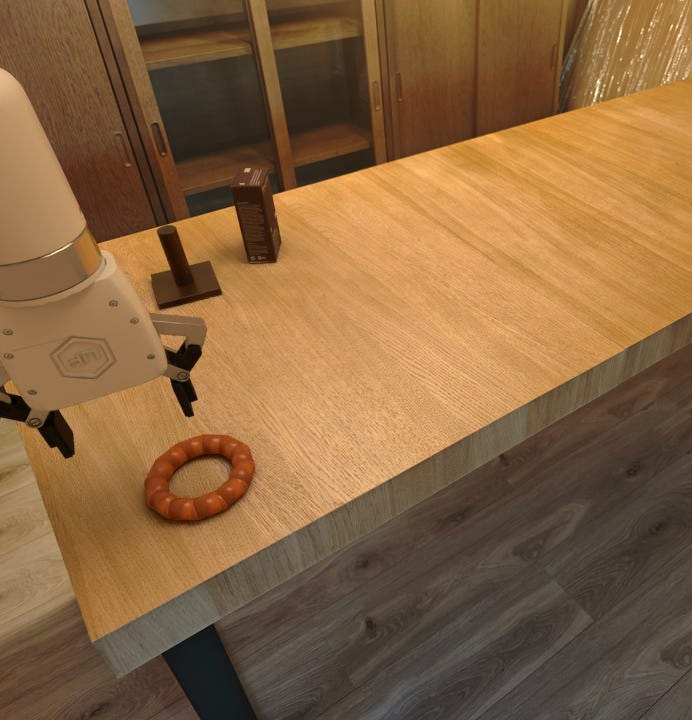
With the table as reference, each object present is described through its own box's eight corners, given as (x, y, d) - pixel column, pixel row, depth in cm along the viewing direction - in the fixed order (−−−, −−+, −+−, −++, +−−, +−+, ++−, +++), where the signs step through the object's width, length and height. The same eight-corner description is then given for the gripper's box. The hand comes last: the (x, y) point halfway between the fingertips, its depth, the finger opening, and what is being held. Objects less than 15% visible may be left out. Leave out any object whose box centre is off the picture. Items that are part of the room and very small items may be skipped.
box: (279, 262, 94) (261, 185, 86) (247, 263, 94) (226, 186, 86) (284, 241, 98) (268, 166, 90) (254, 242, 98) (235, 167, 90)
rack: (160, 310, 85) (136, 251, 79) (152, 280, 90) (129, 223, 84) (222, 294, 88) (203, 236, 82) (211, 266, 93) (193, 209, 87)
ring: (156, 540, 58) (149, 527, 57) (143, 464, 65) (136, 451, 64) (266, 498, 62) (262, 485, 61) (243, 431, 69) (239, 418, 67)
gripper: (-119, 326, 39) (18, 496, 51) (177, 252, 45) (240, 419, 56) (-103, 266, 44) (19, 433, 56) (162, 206, 50) (223, 368, 61)
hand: (130, 426), depth 56 cm, fingers open, 9 cm apart
